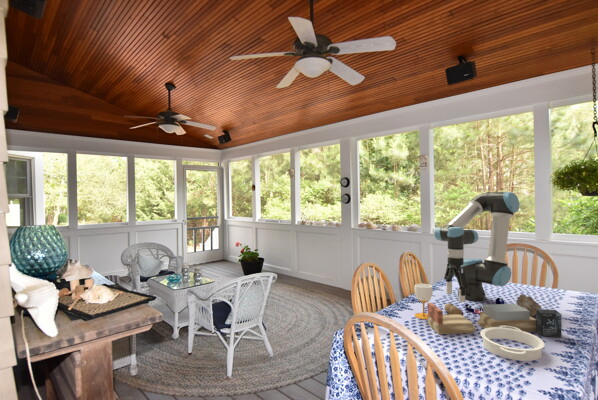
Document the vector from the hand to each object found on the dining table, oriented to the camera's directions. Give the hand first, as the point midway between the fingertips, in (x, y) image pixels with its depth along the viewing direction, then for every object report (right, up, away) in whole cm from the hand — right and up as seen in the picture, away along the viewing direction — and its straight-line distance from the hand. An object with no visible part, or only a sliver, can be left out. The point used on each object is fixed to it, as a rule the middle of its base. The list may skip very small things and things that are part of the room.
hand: (455, 297), depth 177 cm
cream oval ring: (+6, -11, -37) cm, 39 cm away
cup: (-17, -10, 0) cm, 19 cm away
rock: (+38, -9, 0) cm, 39 cm away
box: (+30, -10, -25) cm, 40 cm away
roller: (0, -9, 0) cm, 9 cm away
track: (+5, -10, -15) cm, 19 cm away
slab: (+17, -4, -15) cm, 23 cm away
